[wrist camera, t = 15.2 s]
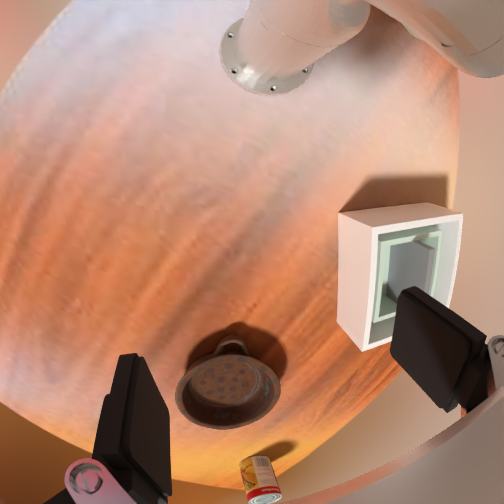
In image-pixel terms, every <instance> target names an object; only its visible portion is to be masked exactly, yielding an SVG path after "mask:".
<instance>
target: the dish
mask: <svg viewBox="0 0 504 504" xmlns="http://www.w3.org/2000/svg"><path fill="white" fill-rule="evenodd" d="M229 343H237V344H238V345H239V346H240V349H239V350H237V351H224V347H225V346H226V345H227V344H229ZM280 393H281V389H280V382H279V379H278V377H277V375H276V373H275V372H274V371H273V370H272V369H271V368H270V367H269V366H267V365H266V364H264V363H263V362H262V361H260V360H258V359H255V358H254V357H252V356H250V355H249V353H248V349H247V345H246V343H245V341H244V340H243V339H242V338H241V337H239V336H237V335H228V336H226V337H224V338H223V339H222V340H221V341H220V343H219V344H218V347H217V349H216V351H215V352H213V353H211V354H208V355H205V356H203V357H201V358H199V359H198V360H196V361H195V362H194V363H193V364H192V365H191V366H190V367H189V368H188V369H187V371H186V373H185V375H184V376H183V377H182V378H181V380H180V381H179V383H178V385H177V388H176V392H175V400H176V404H177V407H178V409H179V411H180V412H181V413H182V414H183V415H184V416H185V417H186V418H187V419H188V420H189V421H191V422H193V423H195V424H197V425H200V426H203V427H207V428H212V429H218V430H227V429H234V428H238V427H242V426H246V425H248V424H251V423H253V422H255V421H257V420H259V419H261V418H262V417H264V416H265V415H266V414H267V413H268V412H269V411H270V410H271V409H272V408H273V407H274V406H275V404H276V403H277V401H278V399H279V397H280Z"/></svg>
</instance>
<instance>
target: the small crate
mask: <svg viewBox="0 0 504 504" xmlns="http://www.w3.org/2000/svg"><path fill="white" fill-rule="evenodd" d="M441 240H442V230H441V229H438V228H435V227H433V226H430V225H429V226H423V227H417V228H412V229H406V230H400V231H394V232H389V233H383V234H378V252H377V269H376V283H375V294H374V304H373V313H372V322H373V323H376V322H379V321H382V320H385V319H388V318H391V317H394V316H395V315H396V308H397V300H398V296H399V295H400V293H401V291H402V290H403V289H406V288H409V287H412V286H416V287H418V288H420V289H421V290H423V291H424V292H426V293H427V294H429V295H430V296H431V297H433V295H434V289H435V283H436V277H437V271H438V264H439V257H440V249H441Z"/></svg>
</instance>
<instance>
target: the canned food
mask: <svg viewBox="0 0 504 504" xmlns="http://www.w3.org/2000/svg"><path fill="white" fill-rule="evenodd" d="M239 466H240V470H241V474H242V479H243V483H244V487H245V491H246V495H247V499H248V502H249V504H270V503H273V502H276V501H278V500H279V499H281V497H282V494H281V491H280V488H279V486H278V482H277V480H276V477H275V473H274V470H273V467H272V464H271V461H270V459H269V457H267V456H262V455H258V456H252V457H248V458H246V459H244V460H242V461H241V462H240V464H239Z"/></svg>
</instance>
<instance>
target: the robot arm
mask: <svg viewBox="0 0 504 504" xmlns="http://www.w3.org/2000/svg"><path fill="white" fill-rule="evenodd" d="M371 5H373V6H375V7H376V8H378V9H380V10H381V11H383V12H384V13H386V14H387V15H389V16H390V17H393V18H395V19H396V20H397V21H399V22H400V23H402V24H403V25H404V26H406V27H407V28H408V29H410V30H411V31H412V32H413V33H415V34H416V35H417V36H419V37H420V38H421V39H422V40H424V41H425V42H426V43H427V44H428V45H430V46H431V47H432V48H433V49H434V50H436V51H437V52H438V53H439V54H440V55H441V56H442V57H444V58H445V59H446V60H447V61H448V62H450V63H451V64H452V65H453V66H455V67H456V68H458V69H459V70H461V71H463V72H464V73H467V74H469V75H472V76H475V77H481V78H492V77H497V76H500V75H503V74H504V0H251V4H250V6H249V8H248V10H247V13H246V15H245V17H244V18H242V19H240V20H238V21H237V22H235V23H234V24H233V25H231V26H230V27H229V29H228V30H227V31H226V33H225V34H224V36H223V38H222V41H221V45H220V59H221V62H222V65H223V68H224V69H225V71H226V73H227V74H228V75H229V77H230V78H231V79H232V80H233V81H234V82H235V83H237V84H238V85H239V86H241V87H242V88H244V89H246V90H248V91H251V92H254V93H256V94H262V95H280V94H284V93H287V92H290V91H292V90H294V89H296V88H297V87H299V86H300V85H301V84H303V82H304V81H305V80H306V79H307V78H308V76H309V74H310V73H311V70H312V66H313V63H314V62H315V61H317V60H318V59H320V58H321V57H323V56H324V55H326V54H327V53H329V52H330V51H332V50H334V49H335V48H337V47H338V46H340V45H342V44H343V43H345V42H347V41H348V40H350V39H351V38H353V37H354V36H356V35H357V34H358V33H359V32H360V31H361V30H362V29H363V28H364V26H365V25H366V23H367V20H368V18H369V15H370V8H371ZM228 36H231V37H232V38H229V37H228ZM232 71H235V72H236V73H235V74H233V73H232ZM303 71H304V72H305V73H304V72H303ZM271 88H272V89H273V91H271ZM486 337H487V336H486V335H485V334H484V333H482V332H481V331H480V330H478V329H477V328H475V327H474V326H473V325H471V324H470V323H469V322H467V321H466V320H464V319H463V318H462V317H460V316H459V315H457V314H456V313H455V312H453V311H452V310H450V309H449V308H447V307H446V306H445V305H443V304H442V303H440V302H439V301H437V300H436V299H434V298H433V297H431V296H430V295H429V294H427V293H426V292H424V291H423V290H421V289H420V288H418V287H416V286H412V287H409V288H406V289H403V290H402V291H401V293H400V295H399V296H398V300H397V308H396V315H395V322H394V329H393V335H392V341H391V347H390V353H391V355H392V357H393V358H394V359H395V360H396V361H397V362H398V364H399V365H400V366H401V367H402V368H403V369H404V370H405V371H406V372H407V373H408V374H409V375H410V376H411V377H412V379H413V380H414V381H415V382H416V383H417V384H418V385H419V386H420V387H421V388H422V390H423V391H424V392H426V394H427V395H428V396H429V397H430V398H431V399H432V401H434V403H435V404H436V405H437V406H438V407H439V408H443V409H444V410H445V411H446V412H447V413H448V412H450V411H451V410H452V409H454V408H455V407H457V405H458V403H459V404H460V405H461V419H460V420H458V421H457V422H455V423H454V424H453V425H451V426H450V427H448V428H447V429H446V430H444V431H442V432H441V433H439V434H438V435H436V436H435V437H433V438H432V439H430V440H428V441H427V442H425V443H423V444H422V445H420V446H419V447H417V448H415V449H414V450H411V451H410V452H408V453H406V454H404V455H402V456H401V457H399V458H397V459H395V460H393V461H391V462H389V463H387V464H385V465H383V466H381V467H379V468H377V469H375V470H373V471H370V472H368V473H366V474H364V475H362V476H359V477H357V478H355V479H352V480H350V481H347V482H345V483H342V484H340V485H337V486H335V487H332V488H329V489H326V490H323V491H320V492H317V493H314V494H311V495H309V496H305V497H302V498H299V499H295V500H291V501H288V502H284V503H280V504H504V336H502V335H498V336H494V337H492V338H491V339H490V340H489V342H488V344H487V345H486V344H485V340H486ZM65 485H66V488H65V489H64V490H63V491H61V492H60V493H58V494H57V495H55V496H54V497H53V498H51V499H49V500H48V501H47V502H45V503H44V504H168V499H167V496H171V495H172V483H171V461H170V416H169V411H168V408H167V406H166V404H165V402H164V400H163V398H162V396H161V394H160V392H159V390H158V388H157V385H156V383H155V381H154V379H153V377H152V375H151V372H150V370H149V368H148V366H147V363H146V361H145V359H144V357H139V356H138V354H137V353H132V354H124V355H120V356H119V359H118V363H117V367H116V371H115V375H114V379H113V383H112V387H111V391H110V394H107V395H106V396H105V398H104V401H103V406H102V410H101V414H100V419H99V423H98V428H97V433H96V438H95V444H94V449H93V455H92V459H89V458H86V459H81V460H78V461H76V462H74V463H73V464H72V465H71V466H70V467H69V468H68V470H67V471H66V475H65Z"/></svg>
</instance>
